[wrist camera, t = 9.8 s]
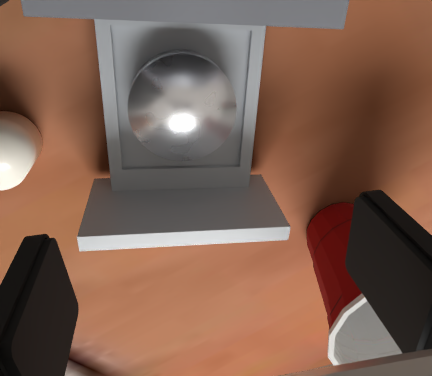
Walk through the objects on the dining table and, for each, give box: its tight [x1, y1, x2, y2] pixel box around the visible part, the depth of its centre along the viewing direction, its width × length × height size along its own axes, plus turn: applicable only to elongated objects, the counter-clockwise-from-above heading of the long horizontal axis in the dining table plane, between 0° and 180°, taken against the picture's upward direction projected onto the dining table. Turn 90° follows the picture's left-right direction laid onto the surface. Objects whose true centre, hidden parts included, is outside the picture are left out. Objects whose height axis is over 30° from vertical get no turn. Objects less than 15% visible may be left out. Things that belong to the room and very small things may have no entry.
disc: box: [128, 49, 237, 161], centre depth 22 cm, size 6×6×2 cm
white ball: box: [0, 111, 43, 190], centre depth 23 cm, size 4×4×4 cm
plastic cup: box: [307, 202, 402, 366], centre depth 28 cm, size 11×11×12 cm
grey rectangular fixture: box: [77, 19, 290, 251], centre depth 21 cm, size 12×14×7 cm
